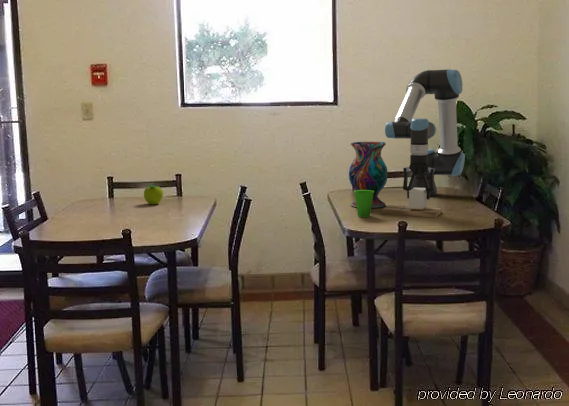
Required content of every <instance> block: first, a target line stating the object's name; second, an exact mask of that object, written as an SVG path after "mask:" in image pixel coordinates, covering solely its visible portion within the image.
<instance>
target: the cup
mask: <svg viewBox="0 0 569 406" xmlns="http://www.w3.org/2000/svg"><path fill="white" fill-rule="evenodd" d="M353 193H354V198H355V199H354V200H355V201H356V206H357V207H356V211H357V216H358V217H359V218H370V217H371V212H372V208H371V206H372V200H373V194H374V191H372V190H354V191H353Z"/></svg>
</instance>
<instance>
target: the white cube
mask: <svg viewBox="0 0 569 406" xmlns="http://www.w3.org/2000/svg"><path fill="white" fill-rule="evenodd" d="M425 192H426V188H413V189H411V190H410V191H409V199H408V206H409V209H421V210H423V209H424V208H425V207H424V203H425Z"/></svg>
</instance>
